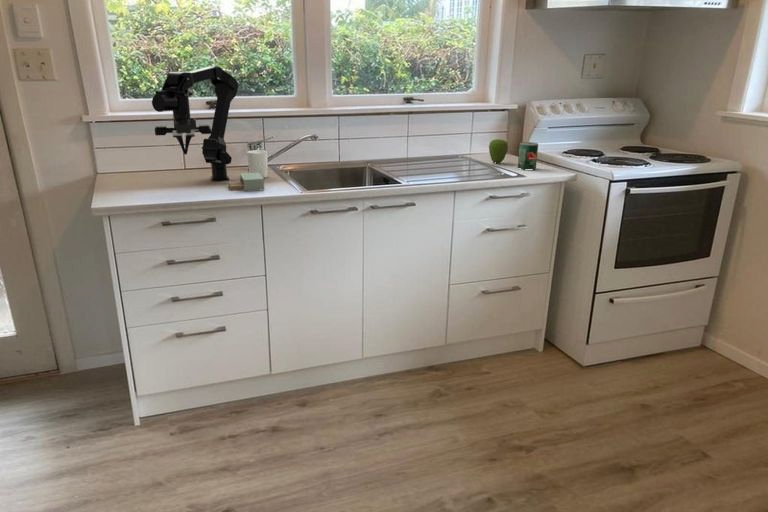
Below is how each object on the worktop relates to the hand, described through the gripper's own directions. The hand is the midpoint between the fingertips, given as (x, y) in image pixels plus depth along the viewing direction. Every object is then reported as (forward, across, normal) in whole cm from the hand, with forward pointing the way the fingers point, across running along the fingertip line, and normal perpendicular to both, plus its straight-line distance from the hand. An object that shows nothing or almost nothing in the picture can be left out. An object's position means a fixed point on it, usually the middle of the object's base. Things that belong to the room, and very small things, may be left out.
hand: (185, 154), depth 210 cm
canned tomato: (+12, +141, -3) cm, 142 cm away
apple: (+12, +135, +12) cm, 136 cm away
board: (+12, +19, -6) cm, 23 cm away
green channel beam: (+12, +22, -6) cm, 26 cm away
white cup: (+12, +27, +12) cm, 32 cm away
